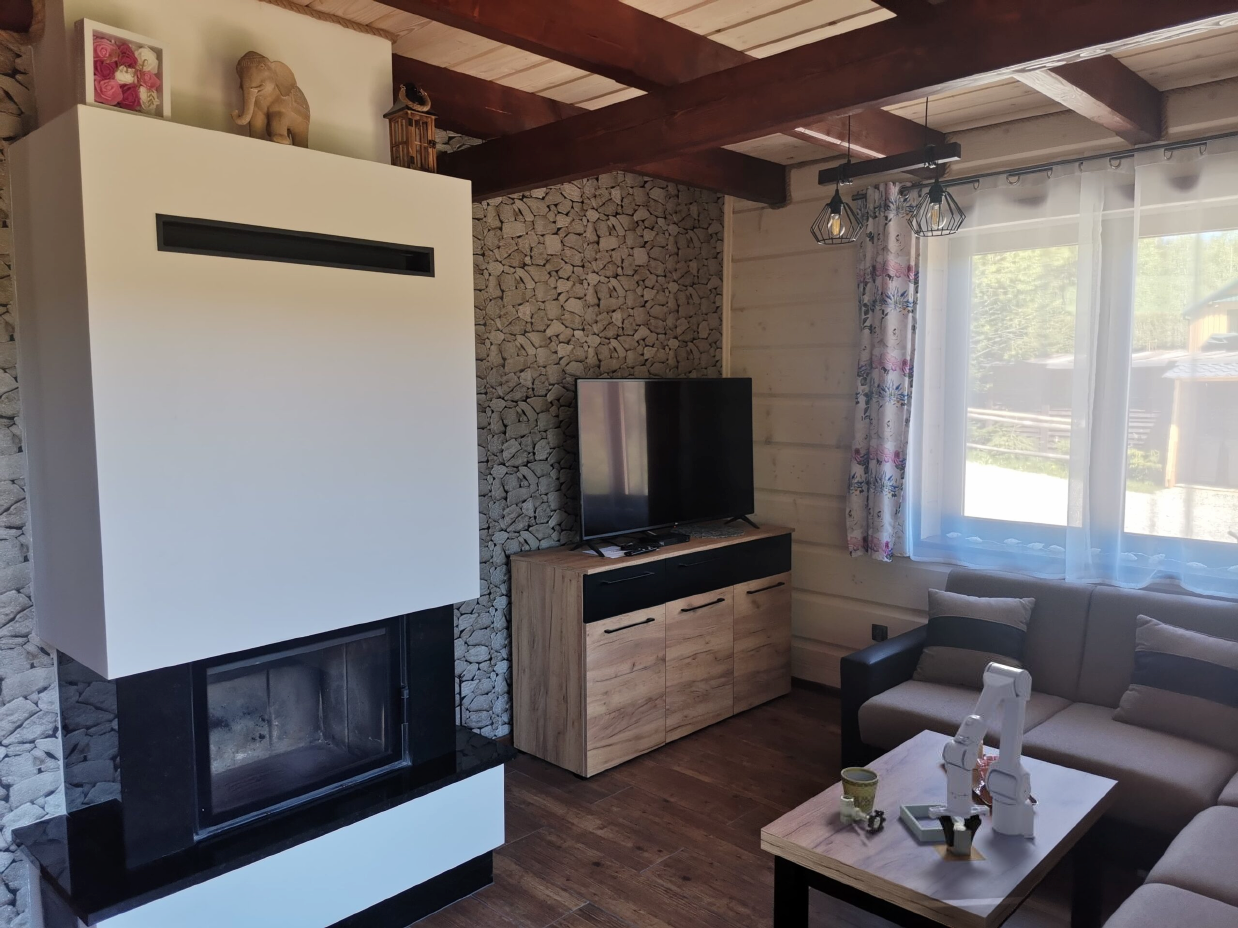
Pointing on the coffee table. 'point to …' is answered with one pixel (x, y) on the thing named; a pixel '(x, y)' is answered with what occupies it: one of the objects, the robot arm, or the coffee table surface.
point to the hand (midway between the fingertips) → (958, 844)
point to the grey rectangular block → (961, 840)
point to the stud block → (949, 857)
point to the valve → (859, 814)
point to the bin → (922, 833)
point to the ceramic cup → (860, 786)
